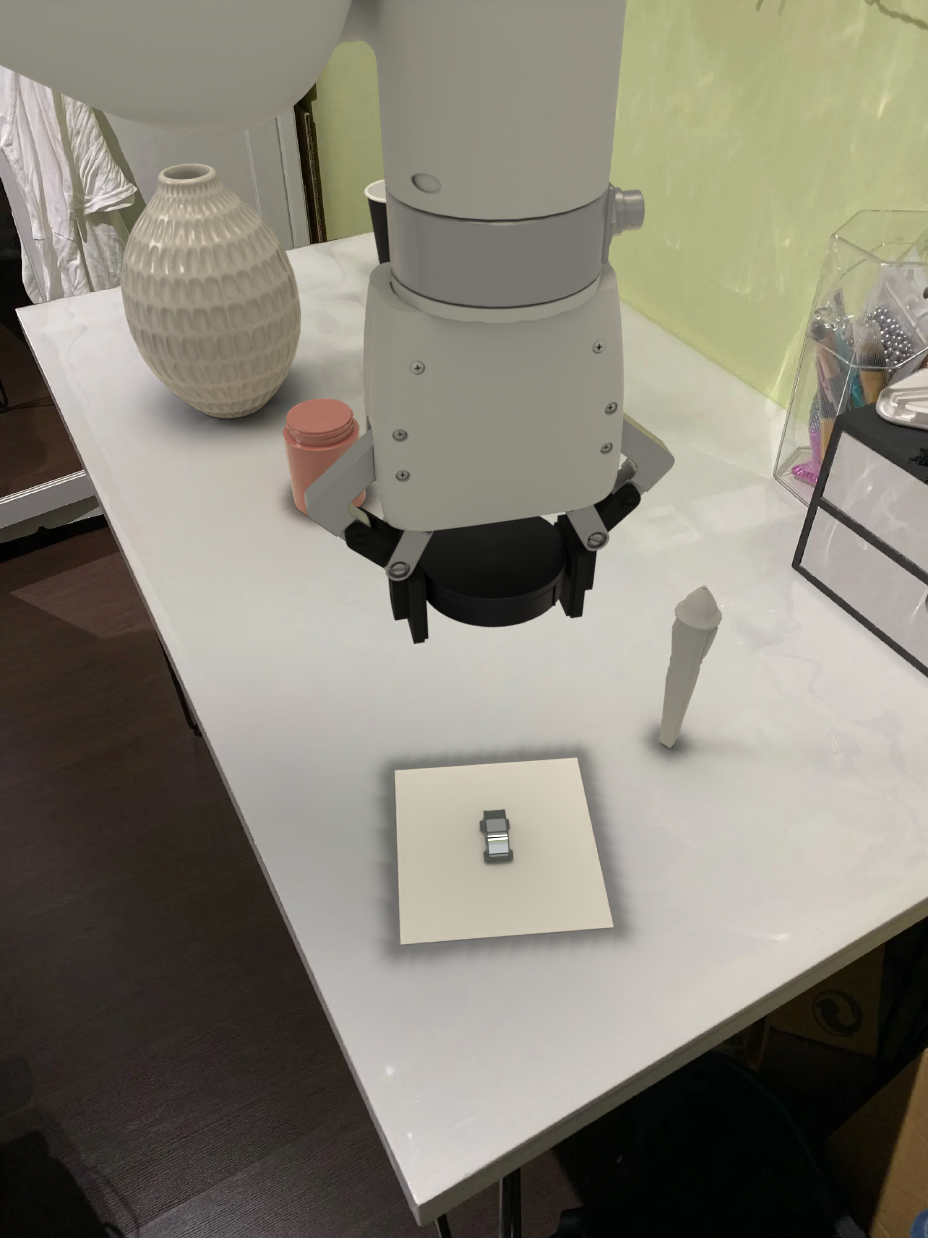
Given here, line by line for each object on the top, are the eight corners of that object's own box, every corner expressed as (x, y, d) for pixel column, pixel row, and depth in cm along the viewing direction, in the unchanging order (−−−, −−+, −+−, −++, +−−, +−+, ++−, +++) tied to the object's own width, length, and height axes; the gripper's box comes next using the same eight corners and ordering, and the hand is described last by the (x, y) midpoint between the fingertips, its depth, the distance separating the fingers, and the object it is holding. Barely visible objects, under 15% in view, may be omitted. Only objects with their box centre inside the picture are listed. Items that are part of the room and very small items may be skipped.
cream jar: (299, 524, 78) (285, 440, 73) (290, 482, 83) (276, 400, 77) (372, 512, 80) (364, 428, 74) (359, 472, 84) (350, 390, 78)
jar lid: (594, 567, 43) (597, 539, 42) (511, 650, 39) (512, 622, 38) (476, 516, 46) (475, 488, 45) (388, 588, 42) (386, 559, 41)
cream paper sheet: (400, 944, 50) (398, 931, 49) (394, 770, 59) (393, 756, 58) (613, 927, 51) (616, 914, 50) (577, 757, 60) (578, 743, 59)
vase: (289, 352, 101) (256, 134, 86) (332, 422, 90) (303, 186, 75) (141, 381, 97) (78, 156, 81) (168, 459, 86) (102, 216, 71)
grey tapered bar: (660, 722, 62) (694, 564, 52) (695, 742, 61) (737, 584, 51) (640, 744, 60) (672, 587, 51) (676, 765, 59) (715, 607, 50)
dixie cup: (363, 272, 117) (356, 182, 109) (421, 263, 119) (417, 173, 111) (382, 296, 112) (376, 203, 104) (443, 286, 114) (440, 194, 106)
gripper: (687, 181, 36) (634, 538, 48) (240, 221, 33) (304, 588, 45) (775, 254, 30) (690, 635, 43) (250, 309, 28) (320, 698, 40)
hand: (491, 609), depth 44 cm, fingers closed on jar lid, 6 cm apart
